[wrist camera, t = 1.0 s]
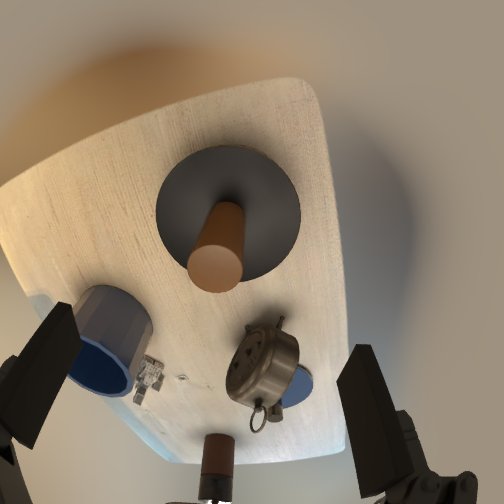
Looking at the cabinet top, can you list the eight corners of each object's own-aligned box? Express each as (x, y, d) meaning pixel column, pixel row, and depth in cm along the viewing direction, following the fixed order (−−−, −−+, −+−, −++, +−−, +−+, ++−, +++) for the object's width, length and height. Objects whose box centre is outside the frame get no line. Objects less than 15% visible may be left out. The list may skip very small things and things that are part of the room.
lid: (136, 180, 26) (83, 216, 17) (270, 122, 24) (280, 126, 14) (195, 291, 31) (176, 360, 22) (315, 252, 29) (340, 315, 20)
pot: (67, 296, 39) (35, 339, 29) (122, 274, 36) (90, 324, 27) (110, 353, 44) (89, 398, 34) (167, 340, 42) (151, 394, 32)
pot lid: (220, 370, 45) (216, 405, 38) (301, 350, 42) (307, 386, 36) (250, 410, 50) (250, 441, 44) (319, 394, 48) (324, 426, 42)
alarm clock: (252, 359, 43) (251, 451, 29) (222, 346, 42) (211, 441, 27) (296, 315, 39) (312, 415, 25) (264, 298, 38) (268, 402, 23)
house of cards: (167, 397, 49) (159, 429, 42) (127, 376, 46) (115, 407, 40) (189, 377, 46) (182, 413, 39) (145, 353, 43) (132, 389, 36)
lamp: (190, 452, 62) (176, 563, 31) (165, 418, 53) (139, 559, 22) (265, 453, 61) (267, 570, 30) (259, 419, 52) (259, 575, 21)
